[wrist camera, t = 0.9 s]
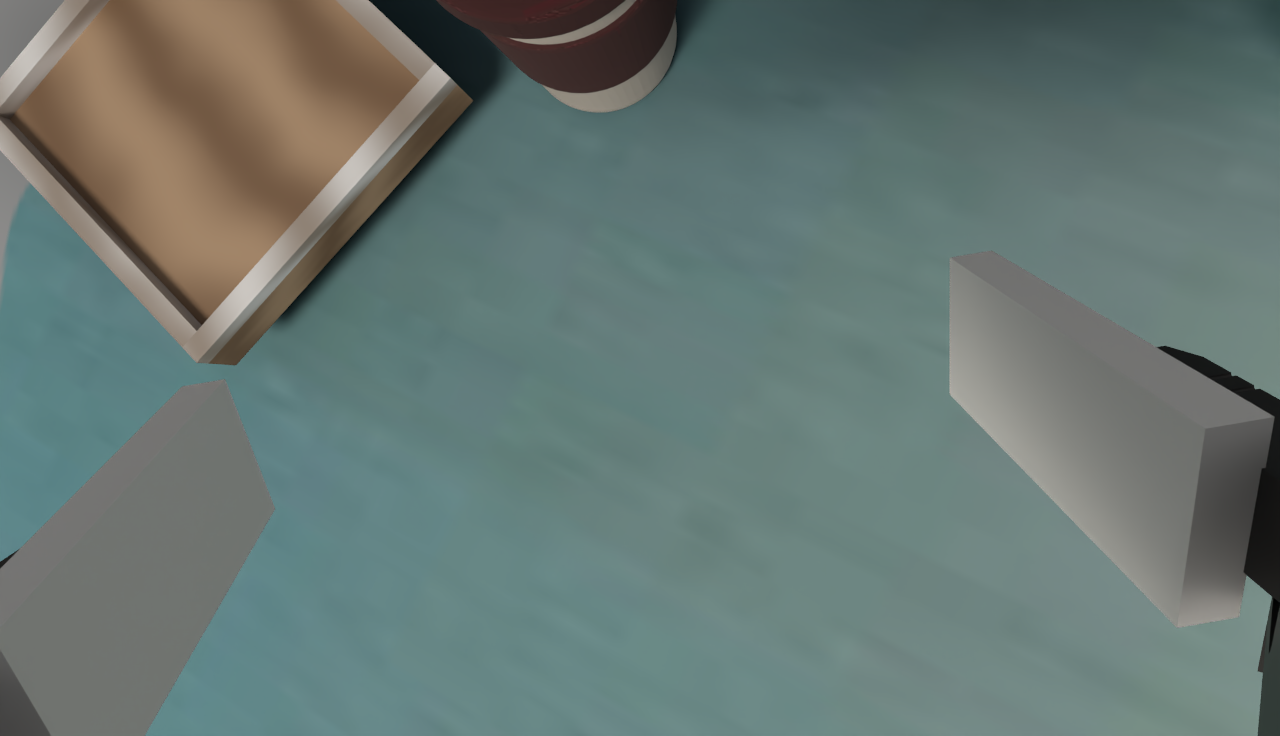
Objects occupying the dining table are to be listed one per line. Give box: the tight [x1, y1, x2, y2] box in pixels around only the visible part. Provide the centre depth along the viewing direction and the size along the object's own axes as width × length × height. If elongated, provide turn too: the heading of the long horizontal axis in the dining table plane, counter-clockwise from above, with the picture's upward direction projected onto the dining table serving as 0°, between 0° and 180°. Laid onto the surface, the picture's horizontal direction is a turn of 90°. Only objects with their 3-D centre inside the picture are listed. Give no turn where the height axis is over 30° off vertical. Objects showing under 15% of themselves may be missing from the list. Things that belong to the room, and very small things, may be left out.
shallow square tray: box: [0, 0, 473, 365], centre depth 41 cm, size 17×17×6 cm
